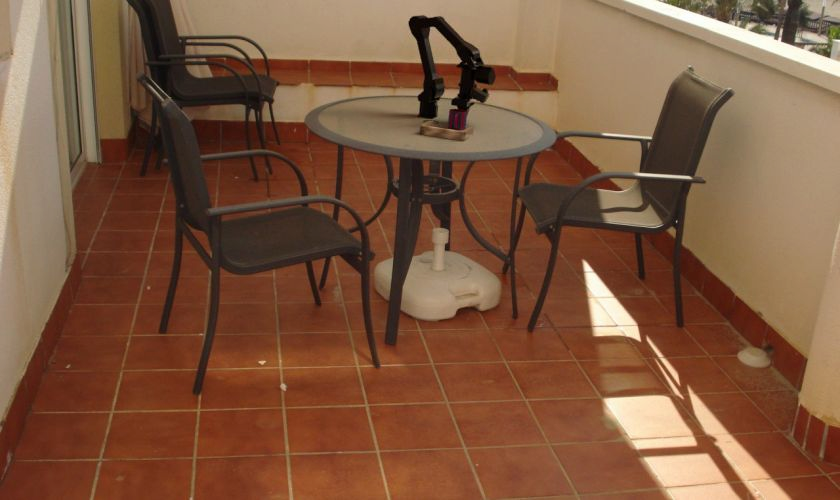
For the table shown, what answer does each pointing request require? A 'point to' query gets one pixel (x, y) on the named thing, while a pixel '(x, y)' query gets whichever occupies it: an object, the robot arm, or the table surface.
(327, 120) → the table surface
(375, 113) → the table surface
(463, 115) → the mug
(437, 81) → the robot arm
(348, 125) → the table surface
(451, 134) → the brown bracket-shaped piece
